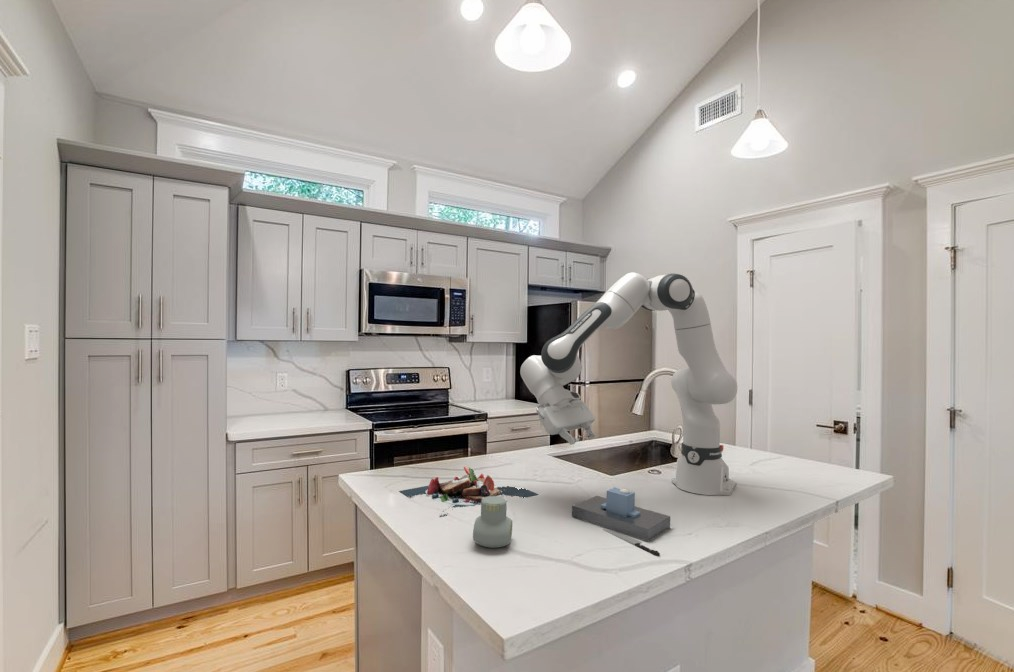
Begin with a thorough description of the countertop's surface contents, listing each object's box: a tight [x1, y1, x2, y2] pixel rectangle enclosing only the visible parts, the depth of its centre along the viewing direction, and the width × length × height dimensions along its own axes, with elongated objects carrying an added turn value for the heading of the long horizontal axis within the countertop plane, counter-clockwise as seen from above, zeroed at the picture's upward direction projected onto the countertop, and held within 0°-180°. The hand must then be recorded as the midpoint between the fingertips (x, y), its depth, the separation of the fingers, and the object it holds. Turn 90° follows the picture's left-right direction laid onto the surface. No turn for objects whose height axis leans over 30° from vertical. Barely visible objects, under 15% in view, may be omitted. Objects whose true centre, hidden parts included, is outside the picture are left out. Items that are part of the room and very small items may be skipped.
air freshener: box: [472, 496, 513, 549], centre depth 115 cm, size 11×8×10 cm
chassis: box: [571, 495, 671, 543], centre depth 130 cm, size 12×22×3 cm, turn 47°
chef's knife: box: [602, 528, 661, 557], centre depth 119 cm, size 19×1×3 cm
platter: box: [398, 466, 540, 518], centre depth 151 cm, size 35×27×9 cm
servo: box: [601, 487, 640, 517], centre depth 130 cm, size 4×10×9 cm, turn 47°
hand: (583, 440), depth 141 cm, fingers open, 8 cm apart
